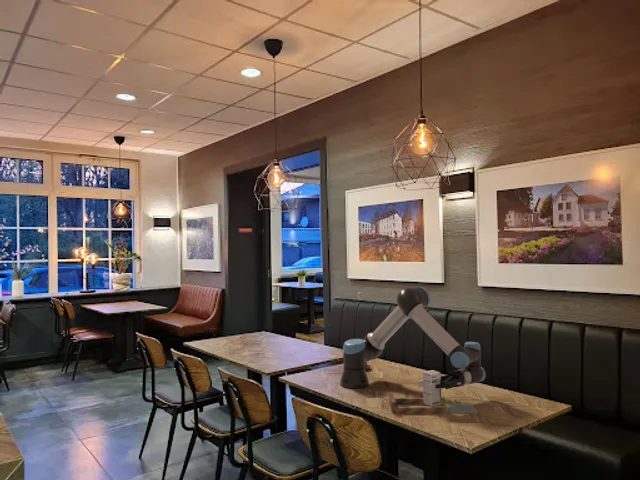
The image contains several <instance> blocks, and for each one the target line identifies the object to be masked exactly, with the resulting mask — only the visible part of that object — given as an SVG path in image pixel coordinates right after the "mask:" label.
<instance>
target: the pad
mask: <svg viewBox="0 0 640 480" xmlns="http://www.w3.org/2000/svg"><path fill="white" fill-rule="evenodd" d="M444 405H445V407H446V408H447V410H448V411H449V413H450V414H478V413H479V412H478V411H477V409H476V408H475V406H473V405H472V404H471V403H444Z"/></svg>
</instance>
